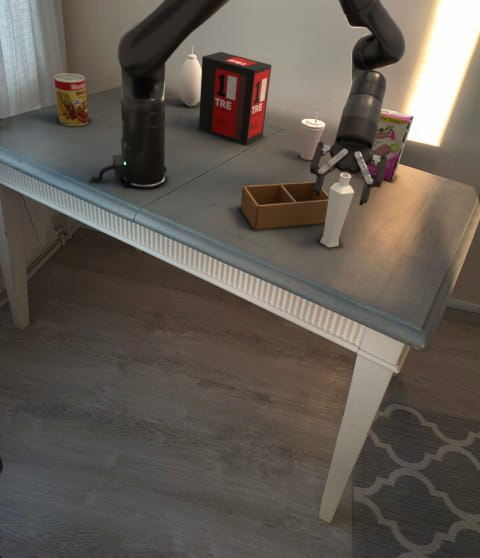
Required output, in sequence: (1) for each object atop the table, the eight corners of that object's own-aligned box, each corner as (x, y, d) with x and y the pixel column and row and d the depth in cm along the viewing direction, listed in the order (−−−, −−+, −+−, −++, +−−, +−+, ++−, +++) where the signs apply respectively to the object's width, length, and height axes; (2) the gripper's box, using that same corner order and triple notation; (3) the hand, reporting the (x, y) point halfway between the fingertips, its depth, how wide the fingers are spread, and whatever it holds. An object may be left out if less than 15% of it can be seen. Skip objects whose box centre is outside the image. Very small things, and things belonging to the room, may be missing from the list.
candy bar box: (350, 171, 133) (365, 109, 123) (355, 164, 137) (370, 104, 127) (392, 182, 130) (411, 120, 120) (395, 175, 134) (414, 114, 124)
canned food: (84, 127, 140) (80, 83, 132) (55, 124, 139) (50, 80, 132) (91, 117, 146) (87, 74, 139) (64, 115, 146) (59, 71, 138)
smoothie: (317, 163, 135) (328, 112, 127) (294, 159, 136) (302, 108, 127) (319, 154, 140) (329, 104, 132) (296, 150, 141) (305, 100, 133)
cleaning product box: (198, 129, 147) (202, 56, 135) (216, 121, 153) (220, 51, 141) (246, 145, 141) (254, 70, 129) (262, 136, 147) (271, 64, 135)
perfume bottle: (316, 235, 105) (330, 169, 96) (336, 236, 106) (352, 170, 97) (320, 248, 101) (336, 180, 92) (341, 248, 102) (359, 181, 93)
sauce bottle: (175, 107, 160) (176, 46, 149) (181, 100, 166) (183, 41, 156) (199, 110, 160) (202, 50, 149) (204, 103, 166) (207, 44, 155)
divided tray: (254, 229, 105) (257, 206, 101) (240, 208, 111) (242, 186, 108) (328, 222, 110) (333, 200, 107) (311, 202, 117) (315, 181, 113)
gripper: (324, 107, 98) (303, 184, 96) (398, 121, 95) (378, 201, 93) (323, 125, 105) (304, 197, 103) (391, 139, 103) (373, 213, 101)
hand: (339, 199), depth 98 cm, fingers open, 8 cm apart
